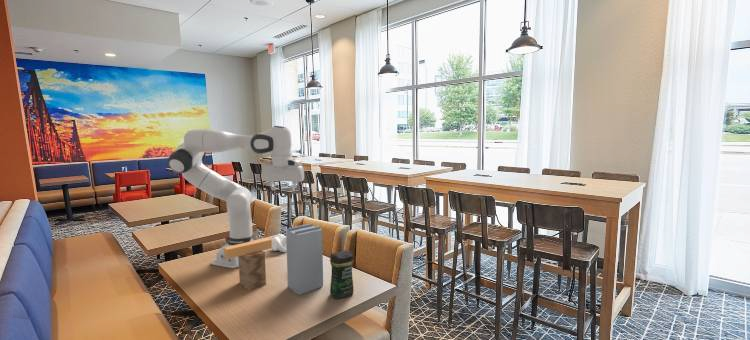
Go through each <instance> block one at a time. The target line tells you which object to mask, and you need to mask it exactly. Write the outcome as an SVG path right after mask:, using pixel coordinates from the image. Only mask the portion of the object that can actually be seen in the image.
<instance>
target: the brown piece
mask: <svg viewBox="0 0 750 340" xmlns="http://www.w3.org/2000/svg"><path fill="white" fill-rule="evenodd" d="M238 257H239V267H238V273H239V275H238V276H239V277H238V278H239V283H240V284H241V285H242V286H243V287H245V288H246V289H247V290H248V291H250V290H253V289H256V288H258V287H259V288H260V287H261V286H265V285H267V275H266V274H267V273H266V251H265V250H262V251H258V252H254V253H250V254H246V255H242V256H238Z"/></svg>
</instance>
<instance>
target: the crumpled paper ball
mask: <svg viewBox="0 0 750 340" xmlns="http://www.w3.org/2000/svg"><path fill="white" fill-rule="evenodd" d="M271 249H272V251H273V252H278V251H280V252H281V253H287V242H286V235H285V234H282V233H278V234H276V235H275V236H274V237H273V239H272V248H271Z"/></svg>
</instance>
